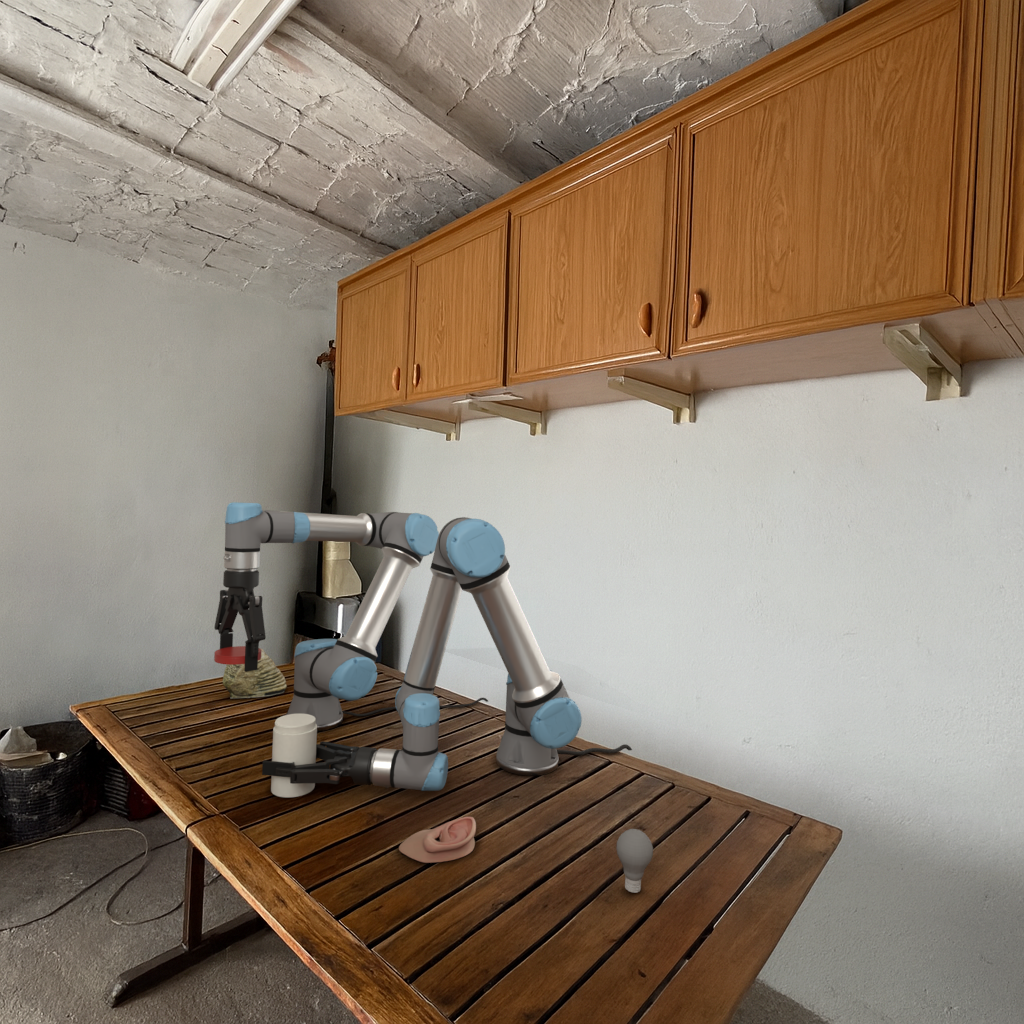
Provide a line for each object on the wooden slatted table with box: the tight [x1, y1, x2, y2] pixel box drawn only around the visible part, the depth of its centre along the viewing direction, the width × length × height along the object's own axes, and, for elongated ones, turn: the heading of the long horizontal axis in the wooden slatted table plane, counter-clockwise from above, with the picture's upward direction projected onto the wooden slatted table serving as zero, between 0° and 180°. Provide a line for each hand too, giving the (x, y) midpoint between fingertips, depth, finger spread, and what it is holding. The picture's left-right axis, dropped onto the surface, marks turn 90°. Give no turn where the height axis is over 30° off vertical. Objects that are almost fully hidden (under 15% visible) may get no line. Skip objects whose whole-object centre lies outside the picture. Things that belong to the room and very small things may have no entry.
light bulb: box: [615, 828, 654, 894], centre depth 106 cm, size 6×6×10 cm
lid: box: [213, 645, 262, 665], centre depth 146 cm, size 10×10×2 cm
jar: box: [270, 714, 318, 798], centre depth 137 cm, size 9×9×15 cm
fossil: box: [222, 647, 288, 699], centre depth 198 cm, size 9×18×15 cm, turn 132°
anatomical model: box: [398, 816, 477, 864], centre depth 116 cm, size 13×4×12 cm
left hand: (238, 665), depth 146 cm, fingers closed on lid, 10 cm apart
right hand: (274, 758), depth 138 cm, fingers closed on jar, 9 cm apart
